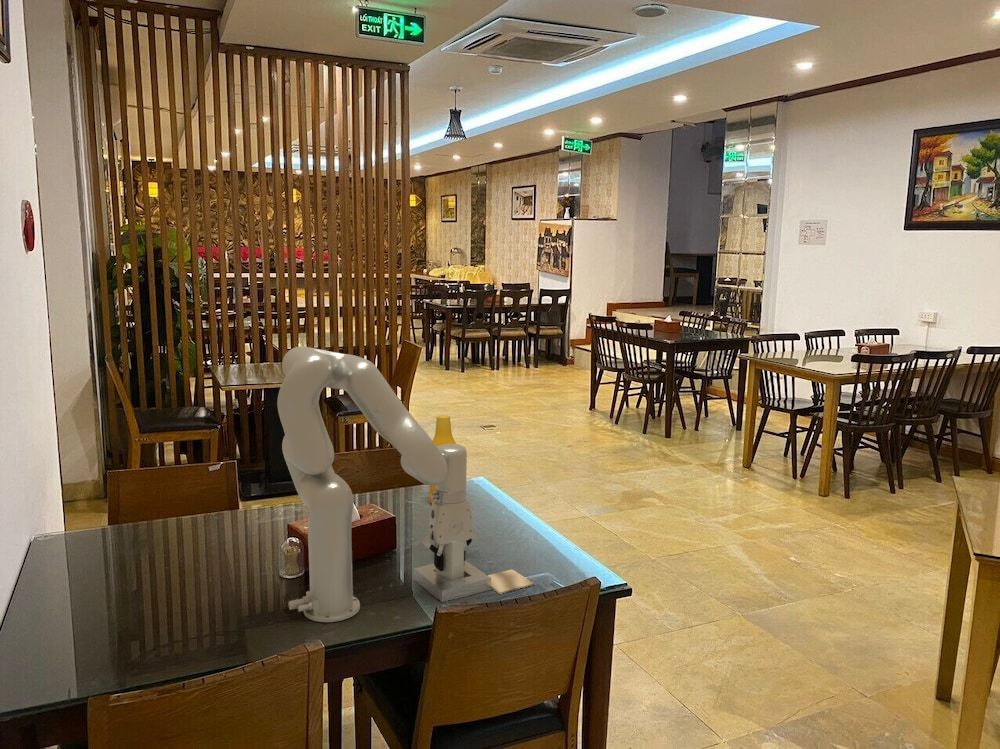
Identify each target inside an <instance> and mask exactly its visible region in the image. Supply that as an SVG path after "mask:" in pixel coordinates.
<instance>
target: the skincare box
mask: <svg viewBox="0 0 1000 749" xmlns="http://www.w3.org/2000/svg"><path fill="white" fill-rule="evenodd" d="M442 555H443V556H444V570H443V571H439V570H438V569H437V568H436V573H437V574H438V575H440V576H441V577H442V578H444V579H445V580H446V581H448V582H449V581H453V580H457V579H461V578H464V541H462V542H458V541H452V542H451V543H450V544H447V545H444V547H443V551H442Z"/></svg>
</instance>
